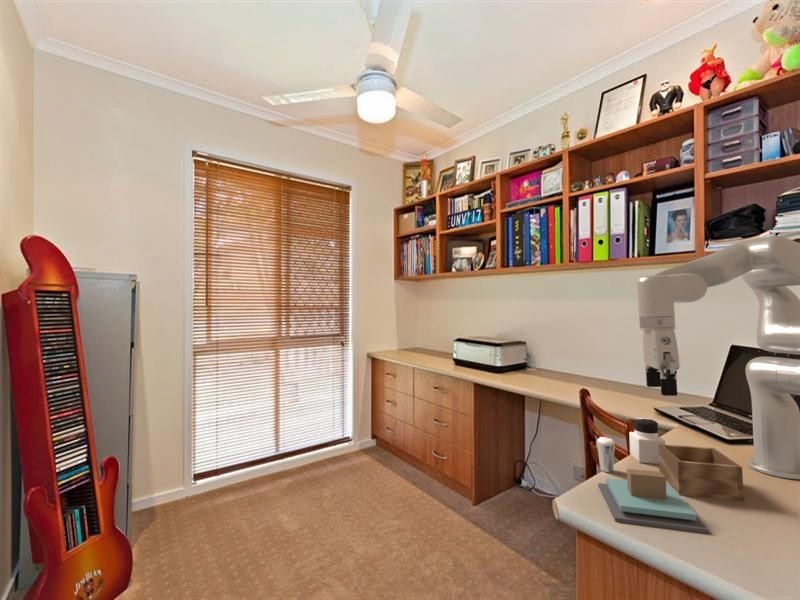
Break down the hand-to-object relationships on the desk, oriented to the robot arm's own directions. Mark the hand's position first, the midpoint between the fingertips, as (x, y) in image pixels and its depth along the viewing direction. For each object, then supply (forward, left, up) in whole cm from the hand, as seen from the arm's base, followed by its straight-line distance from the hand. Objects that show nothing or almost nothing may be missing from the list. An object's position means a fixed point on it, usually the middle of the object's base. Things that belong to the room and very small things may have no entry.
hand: (661, 390), depth 95 cm
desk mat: (+7, +10, -25) cm, 28 cm away
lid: (+7, +10, -24) cm, 26 cm away
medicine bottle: (-3, -22, -25) cm, 33 cm away
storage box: (-9, -5, -25) cm, 27 cm away
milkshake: (+11, -10, -25) cm, 29 cm away
